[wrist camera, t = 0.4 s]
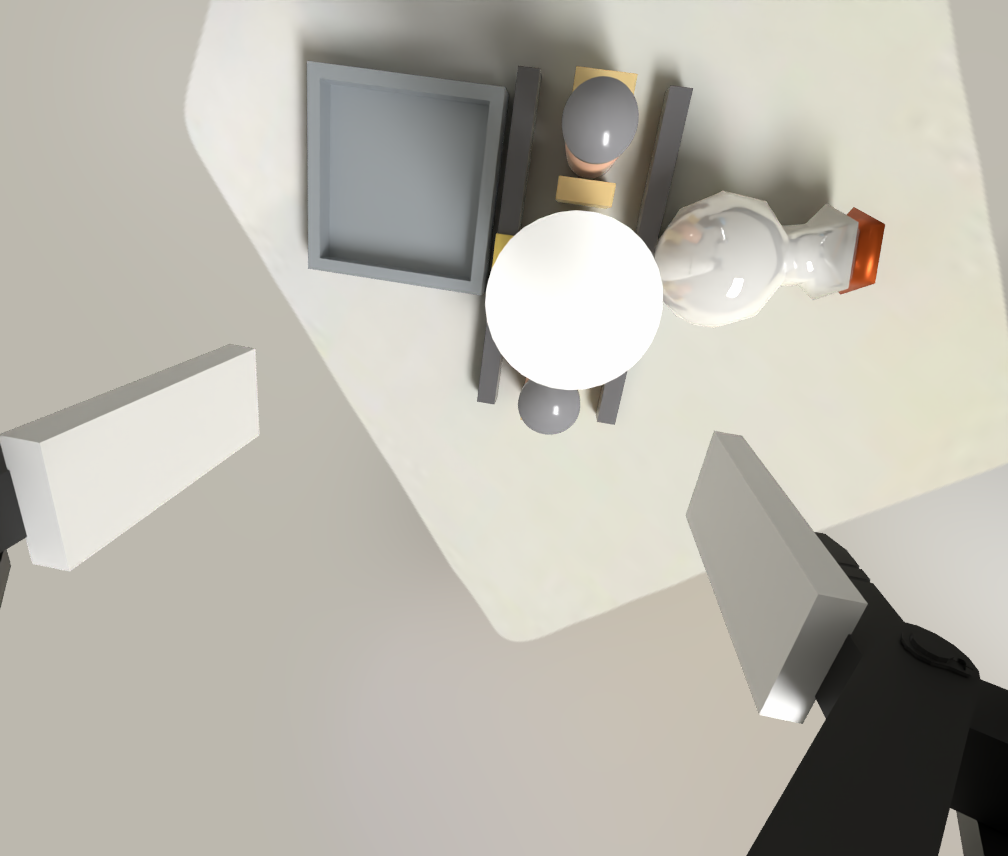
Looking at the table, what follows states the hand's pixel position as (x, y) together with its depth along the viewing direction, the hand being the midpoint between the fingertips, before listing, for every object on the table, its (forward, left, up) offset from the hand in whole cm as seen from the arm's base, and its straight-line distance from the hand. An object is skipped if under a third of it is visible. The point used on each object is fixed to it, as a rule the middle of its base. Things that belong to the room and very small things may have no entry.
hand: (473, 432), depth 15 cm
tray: (-7, -12, -33) cm, 36 cm away
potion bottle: (-5, +16, -33) cm, 37 cm away
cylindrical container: (-3, +2, -33) cm, 33 cm away
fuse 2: (-11, +2, -33) cm, 35 cm away
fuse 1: (+6, +2, -33) cm, 34 cm away
